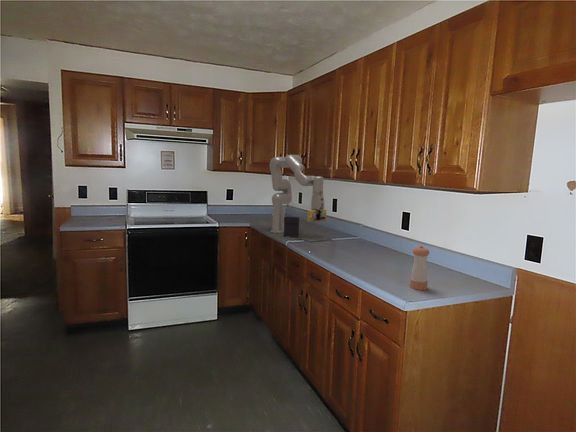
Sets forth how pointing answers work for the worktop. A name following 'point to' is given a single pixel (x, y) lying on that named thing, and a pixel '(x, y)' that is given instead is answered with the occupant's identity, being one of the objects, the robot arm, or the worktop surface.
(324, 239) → the mat
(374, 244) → the worktop surface
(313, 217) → the candy box
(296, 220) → the calculator
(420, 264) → the pepper shaker
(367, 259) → the worktop surface
